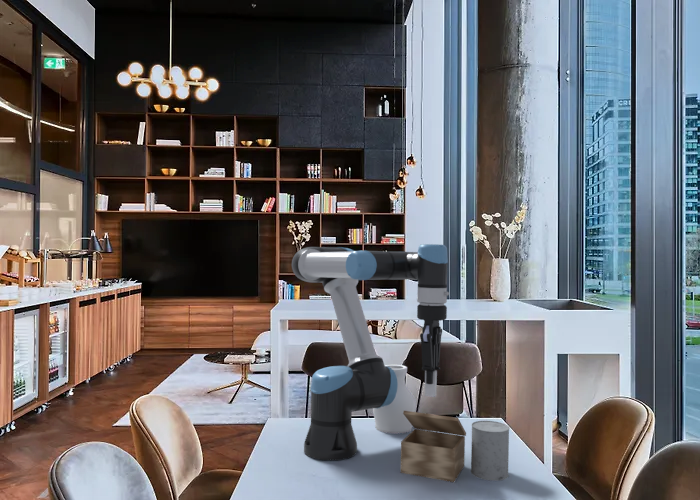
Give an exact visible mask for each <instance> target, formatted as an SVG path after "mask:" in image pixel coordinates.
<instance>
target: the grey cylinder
mask: <svg viewBox="0 0 700 500" xmlns="http://www.w3.org/2000/svg"><path fill="white" fill-rule="evenodd" d="M509 441H510V426H508V424H505V423H503V422H498V421H494V420H477V421H474V422H472V423H471V454H470V455H471V463H470V464H471V465H470V466H471V469H470V473H471V475H472V476H474V477H476V478H477V479H480V480H485V481H490V482H492V481H493V482H500V481H504V480H506V479H508V478H509V456H510V455H509V454H510V451H509V449H510V448H509V447H510V446H509V445H510V442H509Z"/></svg>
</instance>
